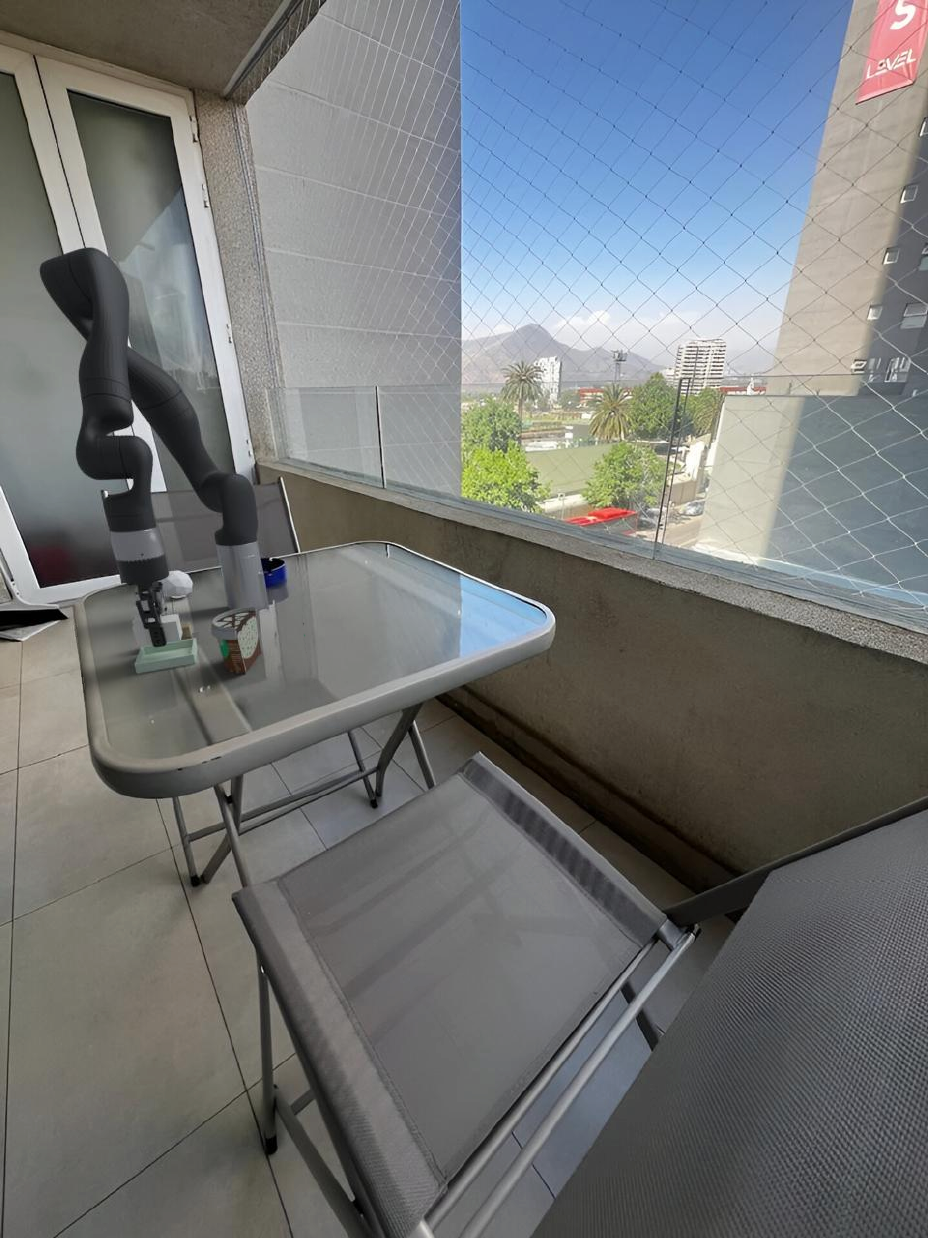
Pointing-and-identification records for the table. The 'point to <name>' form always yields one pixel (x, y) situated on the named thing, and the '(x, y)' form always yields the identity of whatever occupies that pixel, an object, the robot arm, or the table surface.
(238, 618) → the food container
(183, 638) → the tan blocks
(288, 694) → the table surface
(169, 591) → the ball
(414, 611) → the table surface
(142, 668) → the tray
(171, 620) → the white notched block
